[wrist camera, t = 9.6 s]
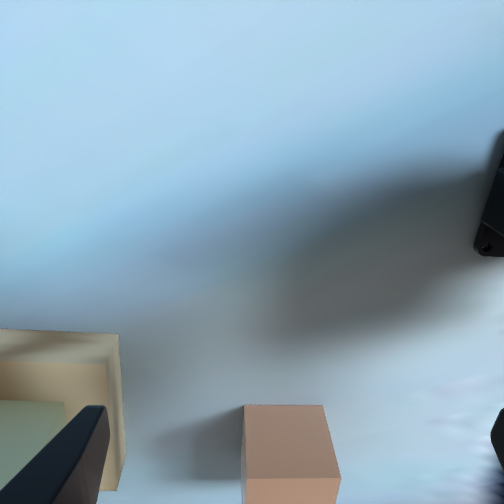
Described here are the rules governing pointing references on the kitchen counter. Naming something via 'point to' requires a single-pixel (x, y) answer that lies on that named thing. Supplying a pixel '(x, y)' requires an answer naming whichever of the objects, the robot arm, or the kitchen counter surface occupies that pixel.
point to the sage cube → (26, 432)
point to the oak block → (68, 380)
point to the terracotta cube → (287, 456)
